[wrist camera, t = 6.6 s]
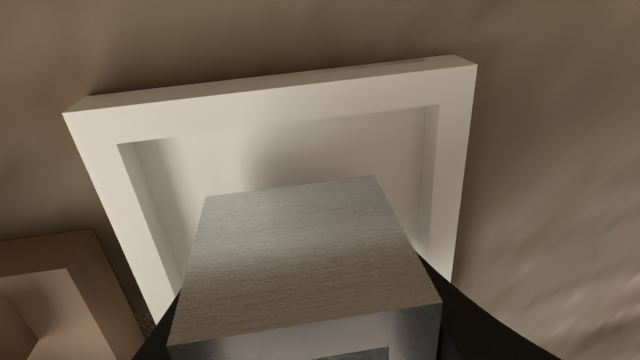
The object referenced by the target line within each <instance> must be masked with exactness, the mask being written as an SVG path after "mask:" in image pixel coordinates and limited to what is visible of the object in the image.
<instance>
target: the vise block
mask: <svg viewBox="0 0 640 360" xmlns="http://www.w3.org/2000/svg"><path fill="white" fill-rule="evenodd" d="M145 341H146V339H145V337H144V335H143V333H142V331H141V329H140V326H139V324H138V322H137V320H136V318H135V316H134V314H133V312H132V310H131V308H130V306H129V303H128V301H127V299H126V297H125V295H124V293H123V291H122V289H121V287H120V285H119V283H118V280H117V278H116V276H115V274H114V272H113V270H112V268H111V266H110V264H109V262H108V260H107V257H106V255H105V253H104V251H103V249H102V247H101V245H100V243H99V241H98V239H97V237H96V234H95V232H94V230H93V228H92V229H85V230H78V231H71V232H63V233H56V234H49V235H42V236H34V237H27V238H20V239H13V240H5V241H0V360H131V359H132V358H133V356H134V355H135V354H136V352H137V351H138V350H139V348H140V347H141V346H142V344H143V343H144V342H145Z"/></svg>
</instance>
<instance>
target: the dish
mask: <svg viewBox="0 0 640 360" xmlns="http://www.w3.org/2000/svg"><path fill="white" fill-rule="evenodd" d="M477 66H478V65H477V64H475V63H473V62H470V61H468V60H466V59H464V58H461V57H459V56H457V55H455V54H451V55H442V56H433V57H425V58H416V59H407V60H398V61H390V62H381V63H372V64H363V65H355V66H346V67H337V68H328V69H320V70H311V71H302V72H293V73H285V74H276V75H267V76H258V77H250V78H241V79H232V80H223V81H215V82H206V83H197V84H188V85H180V86H171V87H162V88H153V89H145V90H136V91H127V92H118V93H110V94H101V95H92V96H86V97H85V98H83V99H82V100H80V101H79V102H77V103H76V104H74V105H73V106H72V107H70V108H69V109H67V110H66V111H64V112H63V113H62V115H63V117H64V119H65V121H66V124H67V126H68V128H69V130H70V133H71V135H72V137H73V139H74V142H75V144H76V146H77V148H78V151H79V153H80V155H81V157H82V160H83V162H84V164H85V166H86V169H87V171H88V173H89V175H90V178H91V180H92V182H93V184H94V187H95V189H96V191H97V193H98V196H99V198H100V200H101V202H102V205H103V207H104V209H105V211H106V214H107V216H108V218H109V220H110V223H111V225H112V227H113V229H114V232H115V234H116V236H117V238H118V241H119V243H120V245H121V247H122V250H123V252H124V254H125V256H126V259H127V261H128V263H129V265H130V268H131V270H132V272H133V274H134V277H135V279H136V281H137V283H138V286H139V288H140V290H141V292H142V295H143V297H144V299H145V301H146V304H147V306H148V308H149V310H150V313H151V315H152V317H153V319H154V322H155V324H156V325H157V324H158V322H159V321H160V319H161V318H162V316H163V315H164V314H165V312H166V311H167V309H168V308H169V306H170V305H171V303H172V302H173V300H174V299H175V297H176V295H177V294H178V292H179V291H180V289H181V288H182V285H183V281H184V277H185V273H186V269H187V266H188V262H189V258H190V254H191V250H192V247H193V243H194V239H195V235H196V231H197V228H198V224H199V220H200V216H201V212H202V208H203V205H204V201H205V197H208V196H215V195H223V194H231V193H238V192H246V191H254V190H261V189H269V188H277V187H284V186H292V185H300V184H307V183H315V182H323V181H330V180H338V179H346V178H353V177H361V176H369V175H374V176H375V177H376V179H377V181H378V183H379V185H380V187H381V189H382V190H383V192H384V194H385V196H386V198H387V200H388V202H389V203H390V205H391V207H392V209H393V211H394V213H395V215H396V216H397V218H398V220H399V222H400V224H401V226H402V227H403V229H404V231H405V233H406V235H407V237H408V239H409V240H410V242H411V244H412V246H413V248H414V250H415V251H416V252H417V253H418V254H419V255H420V256H421V257H422V258H423V259H425V260H426V261H427V262H428V263H429V264H430V265H431V266H432V267H433V268H434V269H435V270H436V271H437V272H439V273H440V274H441V275H442V276H443V277H444V278H445V279H447V280H448V281H449V282H450V283H451V275H452V267H453V259H454V251H455V243H456V235H457V227H458V219H459V211H460V203H461V195H462V186H463V178H464V170H465V162H466V154H467V146H468V138H469V130H470V122H471V114H472V106H473V98H474V90H475V82H476V74H477Z"/></svg>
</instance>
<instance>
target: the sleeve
mask: <svg viewBox="0 0 640 360" xmlns="http://www.w3.org/2000/svg"><path fill="white" fill-rule="evenodd" d="M442 306H443V302H442V300H441V298H440V296H439V294H438V292H437V290H436V289H435V287H434V285H433V283H432V281H431V279H430V277H429V276H428V274H427V272H426V270H425V268H424V266H423V265H422V263H421V261H420V259H419V257H418V255H417V253H416V252H415V250H414V248H413V246H412V244H411V242H410V240H409V239H408V237H407V235H406V233H405V231H404V229H403V227H402V226H401V224H400V222H399V220H398V218H397V216H396V215H395V213H394V211H393V209H392V207H391V205H390V203H389V202H388V200H387V198H386V196H385V194H384V192H383V190H382V189H381V187H380V185H379V183H378V181H377V179H376V177H375V176H374V175H369V176H361V177H353V178H346V179H338V180H330V181H323V182H315V183H307V184H300V185H292V186H284V187H277V188H269V189H261V190H254V191H246V192H238V193H231V194H223V195H215V196H208V197H205V201H204V205H203V208H202V212H201V216H200V220H199V224H198V228H197V231H196V235H195V239H194V243H193V247H192V250H191V254H190V258H189V262H188V266H187V269H186V273H185V277H184V281H183V285H182V289H181V292H180V296H179V300H178V304H177V308H176V311H175V315H174V319H173V323H172V327H171V330H170V334H169V338H168V342H167V346H166V347H167V349H168V351H169V354H170V356H171V358H172V360H436V354H437V346H438V338H439V330H440V322H441V314H442Z"/></svg>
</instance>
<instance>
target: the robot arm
mask: <svg viewBox="0 0 640 360" xmlns="http://www.w3.org/2000/svg"><path fill="white" fill-rule="evenodd" d="M415 252H416V251H415ZM416 253H417V252H416ZM417 255H418V257H419V259H420V261H421V263H422V265H423V266H424V268H425V270H426V272H427V274H428V276H429V277H430V279H431V281H432V283H433V285H434V287H435V289H436V290H437V292H438V294H439V296H440V298H441V300H442V302H443V306H442V314H441V322H440V330H439V338H438V346H437V354H436V360H561V359H560V358H558V357H556V356H554V355H553V354H551V353H549V352H548V351H546V350H544V349H542V348H541V347H539V346H537V345H536V344H534V343H532V342H530V341H529V340H527V339H526V338H524V337H522V336H521V335H519V334H518V333H516V332H515V331H513V330H512V329H510V328H509V327H507V326H506V325H504V324H503V323H501V322H500V321H498V320H497V319H496V318H494V317H493V316H491V315H490V314H489V313H487V312H486V311H485V310H483V309H482V308H481V307H479V306H478V305H477V304H476V303H474V302H473V301H472V300H470V299H469V298H468V297H467V296H465V295H464V294H463V293H462V292H461V291H459V290H458V289H457V288H456V287H455V286H453V285H452V284H451V283H450V282H449V281H448V280H447V279H445V278H444V277H443V276H442V275H441V274H440V273H439V272H437V271H436V270H435V269H434V268H433V267H432V266H431V265H430V264H429V263H428V262H427V261H426V260H425V259H423V258H422V257H421V256H420V255H419V254H418V253H417ZM181 289H182V288H181ZM181 289H180V291H179V292H178V294H177V295H176V297H175V299H174V300H173V302H172V303H171V305H170V306H169V308H168V309H167V311H166V312H165V314H164V315H163V316H162V318H161V319H160V321H159V322H158V324H157V325H156V327H155V328H154V330H153V331H152V332H151V334H150V335H149V337H148V338H147V339H146V341H145V342H144V343H143V344H142V346H141V347H140V348H139V350H138V351H137V352H136V354H135V355H134V356H133V358H132V359H131V360H172V358H171V356H170V354H169V351H168V349H167V347H166V346H167V342H168V338H169V334H170V330H171V327H172V323H173V319H174V315H175V311H176V308H177V304H178V300H179V296H180V292H181Z"/></svg>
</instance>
